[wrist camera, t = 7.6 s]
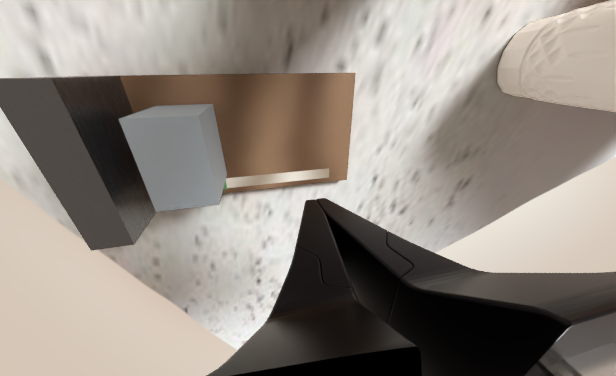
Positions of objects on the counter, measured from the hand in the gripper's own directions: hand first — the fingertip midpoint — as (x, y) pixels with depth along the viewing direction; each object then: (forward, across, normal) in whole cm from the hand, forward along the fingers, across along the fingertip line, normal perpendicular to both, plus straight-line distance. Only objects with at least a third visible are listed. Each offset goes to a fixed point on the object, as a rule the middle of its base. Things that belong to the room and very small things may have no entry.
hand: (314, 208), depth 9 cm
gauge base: (+13, +4, 0) cm, 13 cm away
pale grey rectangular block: (+12, +7, +1) cm, 14 cm away
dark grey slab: (+13, +12, 0) cm, 18 cm away
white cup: (+13, -26, -6) cm, 29 cm away
